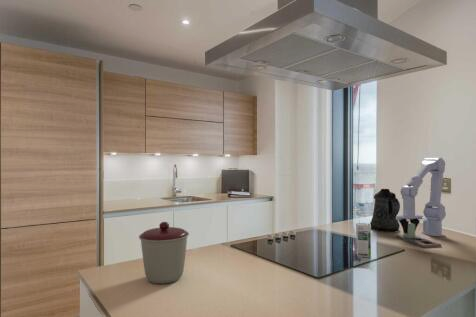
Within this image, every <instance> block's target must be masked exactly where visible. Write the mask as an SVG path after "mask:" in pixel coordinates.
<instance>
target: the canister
mask: <svg viewBox="0 0 476 317" xmlns="http://www.w3.org/2000/svg"><path fill="white" fill-rule="evenodd" d="M189 235H190V232H188V231H187V230H186V229H183V228H181V227H175V226H174V227H173V226H172V227H171V226H170V223H169V222H167V221H161V222H160V223H159V227H155V228H150V229H147V230H145V231H143V232H142V233H141V234H139V236H138V239H139V240H140V242H141V243H140V246H141V252H142V260H143V261H142V262H143V267H144V269H143V270H144V274H145V277H146V279H147V281H148V282H150V283H153V284H164V285H166V284H169V283H174V282H177V281H178V280H179V279H180V278H181V277H182V276H183V273H184V270H185V269H184V268H185V262H186V252H187V251H186V250H187V244H188V242H187V241H188V237H189Z"/></svg>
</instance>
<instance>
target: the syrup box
mask: <svg viewBox="0 0 476 317" xmlns="http://www.w3.org/2000/svg"><path fill="white" fill-rule="evenodd" d="M355 227H356V228H355V231H356V232H355V234H356V235H355V236H356V237H355V238H356V239H355V240H356V242H355V244H356V256H357V258H361V257H362V258H372V247H371V244H372V243H371V239H372V238H371V237H372V236H371V235H372V234H371V230H372V229H371V225H370V222H368V223H367V222H355Z"/></svg>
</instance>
